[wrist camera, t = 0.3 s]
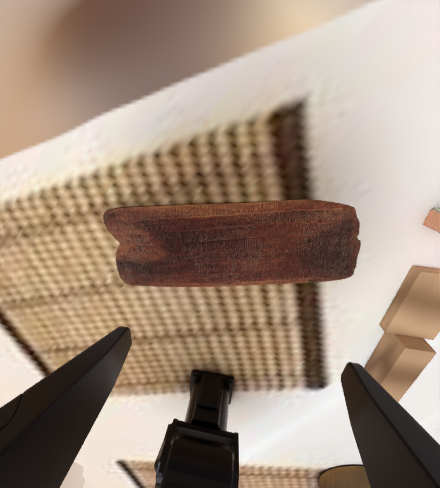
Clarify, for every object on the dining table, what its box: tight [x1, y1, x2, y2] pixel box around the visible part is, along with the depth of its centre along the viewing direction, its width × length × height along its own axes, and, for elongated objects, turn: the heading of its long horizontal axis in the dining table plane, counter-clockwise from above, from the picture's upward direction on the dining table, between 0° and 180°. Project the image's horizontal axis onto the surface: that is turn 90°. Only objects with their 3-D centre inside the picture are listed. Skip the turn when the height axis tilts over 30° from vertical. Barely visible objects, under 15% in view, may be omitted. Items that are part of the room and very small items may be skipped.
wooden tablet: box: [103, 200, 361, 287], centre depth 23 cm, size 26×2×10 cm
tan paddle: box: [364, 266, 440, 402], centre depth 23 cm, size 17×5×3 cm, turn 176°
